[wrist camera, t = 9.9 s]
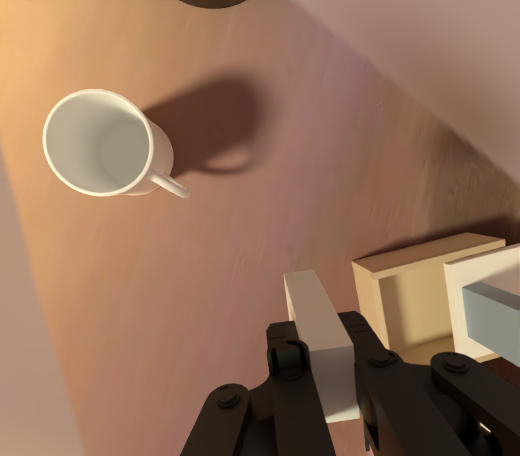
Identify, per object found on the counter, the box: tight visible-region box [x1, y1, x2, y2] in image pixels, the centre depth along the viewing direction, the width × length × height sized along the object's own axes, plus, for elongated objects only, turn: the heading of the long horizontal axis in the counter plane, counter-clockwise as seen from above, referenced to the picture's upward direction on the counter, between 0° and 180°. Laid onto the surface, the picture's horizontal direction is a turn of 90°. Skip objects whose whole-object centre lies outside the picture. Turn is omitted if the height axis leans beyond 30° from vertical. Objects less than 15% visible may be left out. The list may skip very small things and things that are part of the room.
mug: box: [43, 89, 191, 198], centre depth 32 cm, size 12×8×12 cm
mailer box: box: [352, 232, 506, 365], centre depth 42 cm, size 16×14×6 cm
